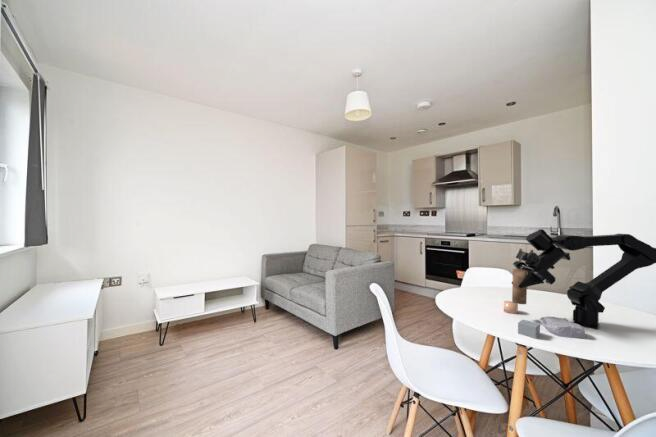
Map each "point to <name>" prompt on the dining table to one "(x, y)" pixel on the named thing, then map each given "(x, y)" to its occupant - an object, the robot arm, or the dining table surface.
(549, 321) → the stone block
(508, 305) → the peach rounded knob part
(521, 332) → the grey faceted polyhedron
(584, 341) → the dining table surface
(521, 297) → the walnut post
